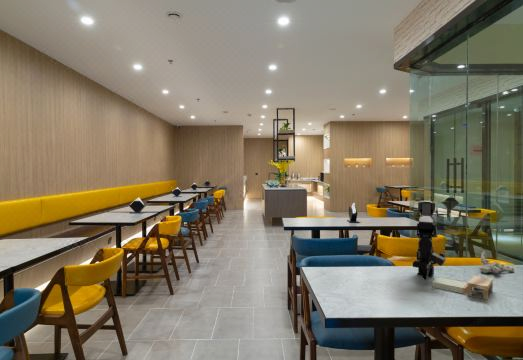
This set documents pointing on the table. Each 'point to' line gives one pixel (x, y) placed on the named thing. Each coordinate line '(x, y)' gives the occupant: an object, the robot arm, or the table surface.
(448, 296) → the table surface
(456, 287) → the cream rectangular block
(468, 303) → the table surface
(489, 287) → the wooden block
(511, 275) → the table surface
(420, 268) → the robot arm
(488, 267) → the anatomical model
